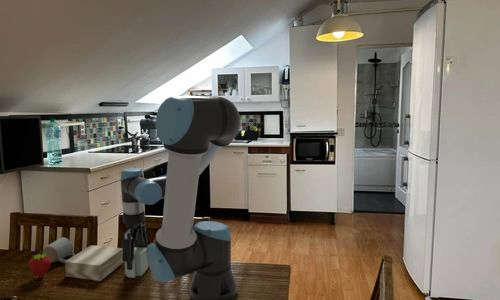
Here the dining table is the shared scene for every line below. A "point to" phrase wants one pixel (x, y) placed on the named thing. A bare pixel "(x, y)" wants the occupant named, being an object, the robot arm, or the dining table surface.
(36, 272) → the strawberry
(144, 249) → the sage block
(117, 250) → the birch block
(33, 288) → the dining table surface
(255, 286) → the dining table surface
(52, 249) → the ceramic mug
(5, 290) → the dining table surface
